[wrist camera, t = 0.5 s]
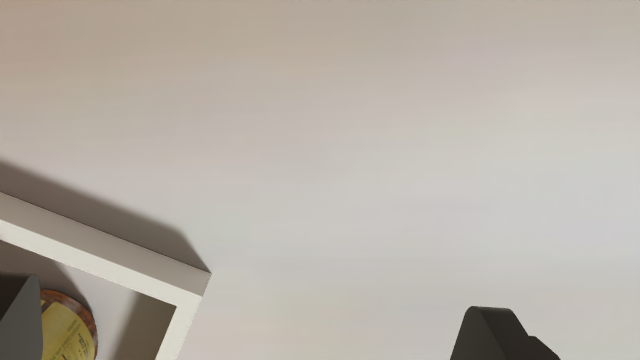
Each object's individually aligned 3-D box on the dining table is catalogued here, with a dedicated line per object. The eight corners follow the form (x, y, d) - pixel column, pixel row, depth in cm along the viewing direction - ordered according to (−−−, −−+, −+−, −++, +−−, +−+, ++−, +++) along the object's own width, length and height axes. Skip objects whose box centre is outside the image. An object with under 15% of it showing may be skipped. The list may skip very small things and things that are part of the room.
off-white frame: (-34, 178, 30) (-71, 192, 27) (211, 273, 31) (202, 296, 28) (-100, 393, 32) (-140, 427, 29) (129, 470, 34) (112, 509, 31)
